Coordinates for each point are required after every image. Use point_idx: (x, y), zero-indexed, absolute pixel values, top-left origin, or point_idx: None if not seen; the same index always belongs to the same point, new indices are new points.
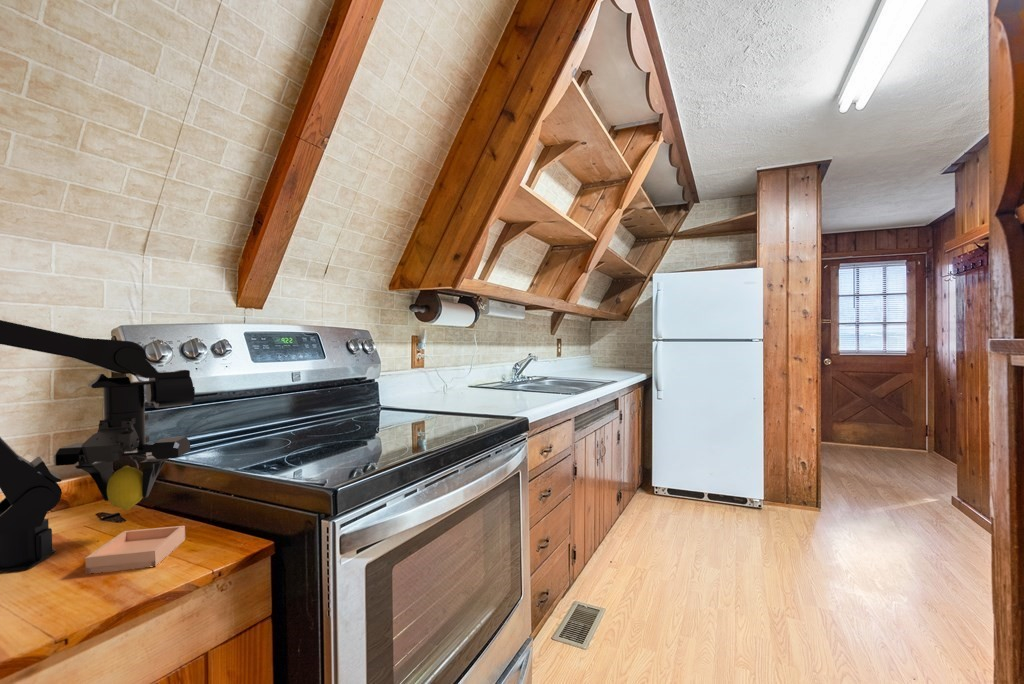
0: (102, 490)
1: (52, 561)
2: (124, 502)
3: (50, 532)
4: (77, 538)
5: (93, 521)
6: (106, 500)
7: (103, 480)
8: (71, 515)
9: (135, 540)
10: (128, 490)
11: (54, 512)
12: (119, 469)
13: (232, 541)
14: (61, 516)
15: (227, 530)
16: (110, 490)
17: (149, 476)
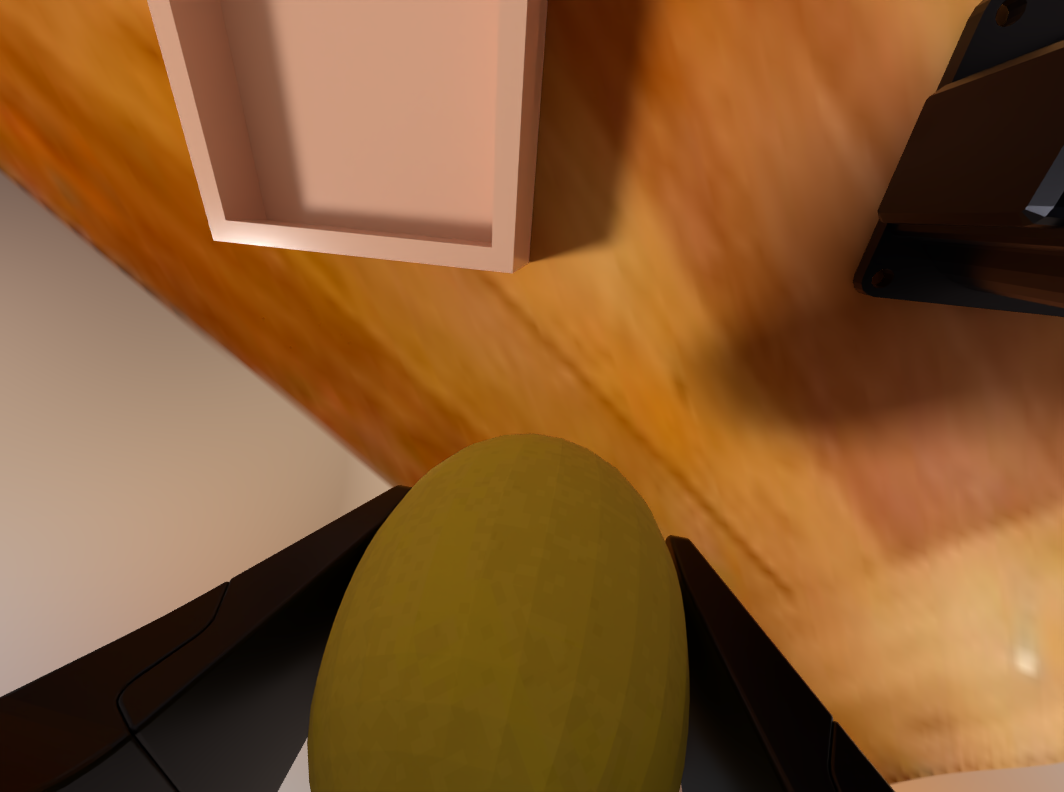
0: (729, 617)
1: (846, 142)
2: (511, 435)
3: (1011, 188)
4: (786, 460)
5: (766, 623)
6: (677, 537)
7: (756, 760)
8: (866, 714)
9: (458, 230)
10: (434, 492)
11: (935, 766)
12: None
13: (47, 126)
14: (903, 721)
15: (167, 296)
16: (617, 538)
17: (162, 618)
